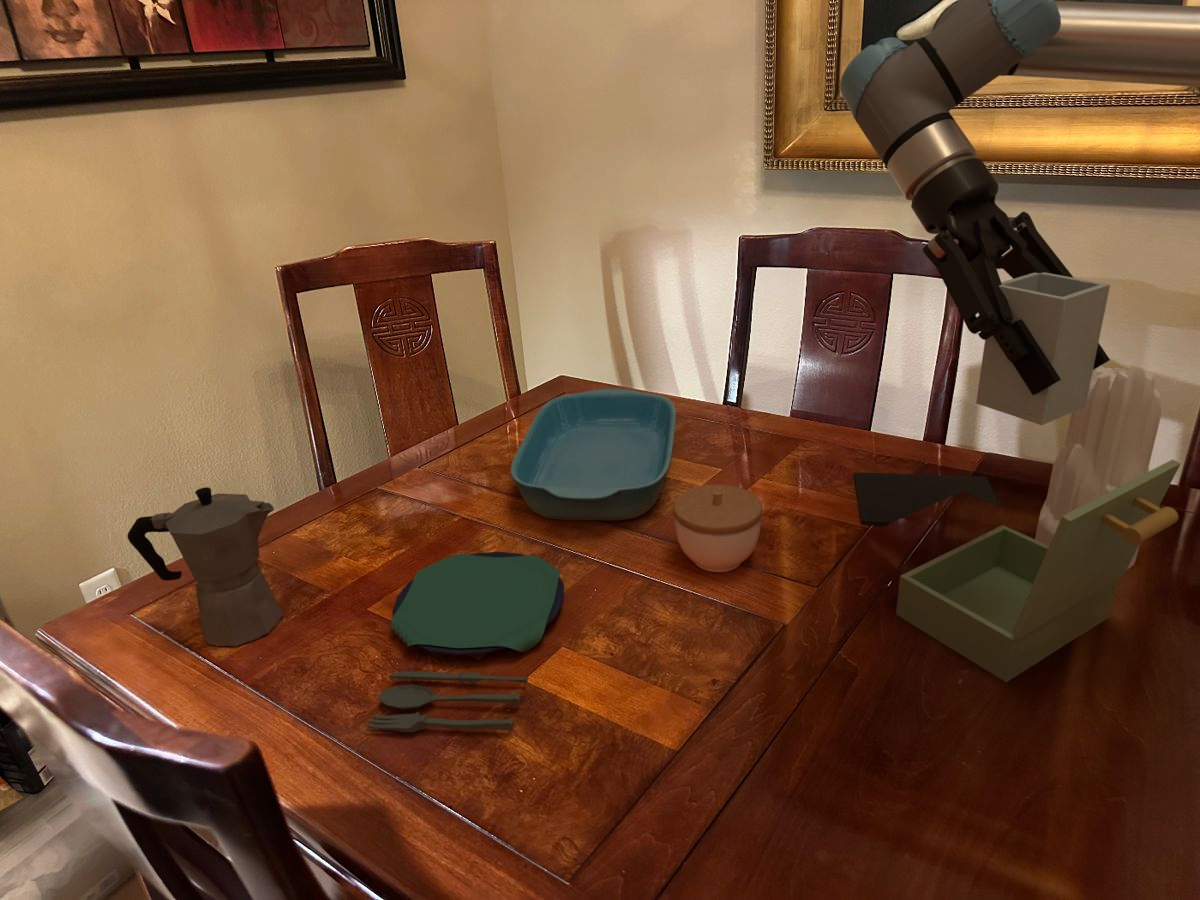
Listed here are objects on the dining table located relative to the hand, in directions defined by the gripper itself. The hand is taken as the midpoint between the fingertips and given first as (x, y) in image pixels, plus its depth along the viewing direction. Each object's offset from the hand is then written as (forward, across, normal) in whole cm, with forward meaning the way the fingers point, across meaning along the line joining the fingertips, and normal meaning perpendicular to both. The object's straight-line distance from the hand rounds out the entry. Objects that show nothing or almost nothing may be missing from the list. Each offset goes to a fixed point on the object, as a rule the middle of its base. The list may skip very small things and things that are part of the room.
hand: (1071, 377), depth 78 cm
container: (0, 0, -5) cm, 5 cm away
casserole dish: (-21, +17, -61) cm, 67 cm away
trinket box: (-1, +18, -41) cm, 45 cm away
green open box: (+19, +1, -21) cm, 28 cm away
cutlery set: (-4, +50, -44) cm, 66 cm away
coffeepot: (-17, +72, -58) cm, 93 cm away
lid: (+15, +1, -7) cm, 16 cm away
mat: (+3, -14, -37) cm, 39 cm away
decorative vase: (+17, -18, -23) cm, 34 cm away
